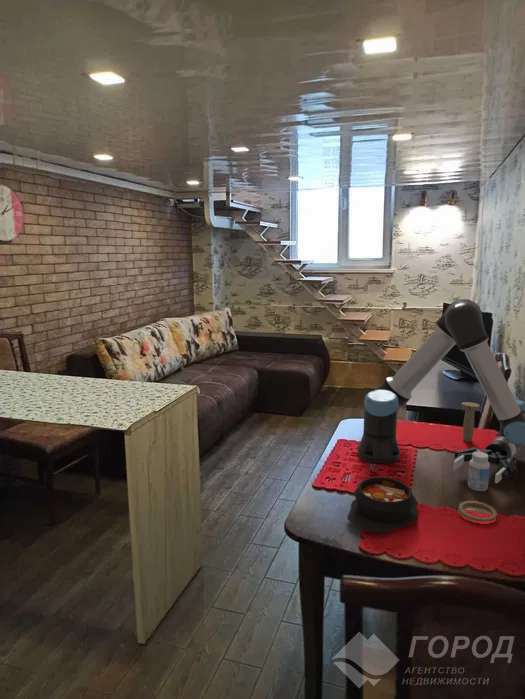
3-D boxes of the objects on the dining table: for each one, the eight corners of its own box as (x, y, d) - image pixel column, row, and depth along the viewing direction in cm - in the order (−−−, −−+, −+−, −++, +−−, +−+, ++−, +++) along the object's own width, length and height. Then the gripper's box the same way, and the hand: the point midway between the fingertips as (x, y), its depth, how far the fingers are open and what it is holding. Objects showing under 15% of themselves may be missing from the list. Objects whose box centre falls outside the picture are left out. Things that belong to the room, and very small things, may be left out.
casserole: (376, 488, 156) (377, 464, 155) (432, 509, 144) (434, 483, 142) (331, 521, 138) (332, 494, 137) (391, 548, 126) (393, 519, 124)
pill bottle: (486, 484, 159) (490, 451, 156) (488, 493, 153) (492, 459, 151) (466, 481, 161) (469, 449, 158) (467, 490, 155) (470, 457, 153)
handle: (475, 444, 189) (478, 407, 186) (457, 441, 193) (460, 404, 189) (476, 440, 193) (480, 403, 190) (459, 436, 197) (462, 401, 193)
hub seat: (466, 524, 136) (466, 520, 136) (452, 505, 146) (452, 500, 146) (503, 524, 136) (504, 519, 136) (486, 504, 146) (487, 500, 146)
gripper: (537, 472, 160) (515, 496, 146) (463, 450, 177) (436, 470, 162) (540, 451, 159) (517, 473, 144) (465, 431, 176) (438, 449, 161)
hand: (474, 472), depth 153 cm, fingers open, 12 cm apart
